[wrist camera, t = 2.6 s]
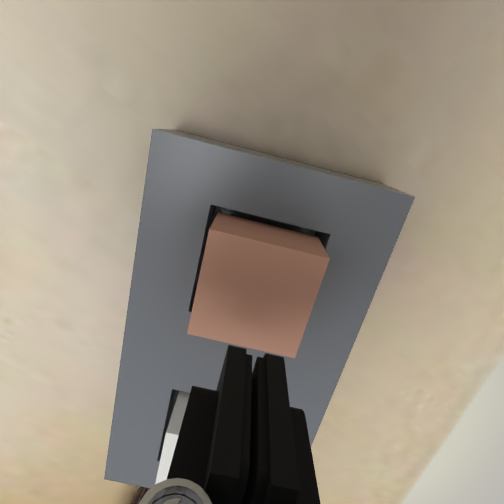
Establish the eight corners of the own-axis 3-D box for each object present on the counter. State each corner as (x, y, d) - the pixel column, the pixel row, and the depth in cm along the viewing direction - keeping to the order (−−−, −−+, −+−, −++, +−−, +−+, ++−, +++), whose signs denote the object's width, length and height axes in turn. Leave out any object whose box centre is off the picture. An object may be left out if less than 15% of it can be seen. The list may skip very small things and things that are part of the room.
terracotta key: (218, 212, 16) (209, 229, 13) (318, 237, 16) (330, 258, 14) (198, 301, 18) (187, 333, 15) (289, 323, 18) (294, 358, 15)
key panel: (175, 129, 18) (152, 128, 14) (384, 184, 19) (414, 197, 15) (127, 428, 25) (104, 479, 22) (279, 459, 26) (282, 514, 22)
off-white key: (179, 389, 20) (165, 432, 17) (261, 407, 20) (261, 452, 17) (166, 450, 21) (151, 498, 19) (242, 465, 22) (239, 515, 19)
